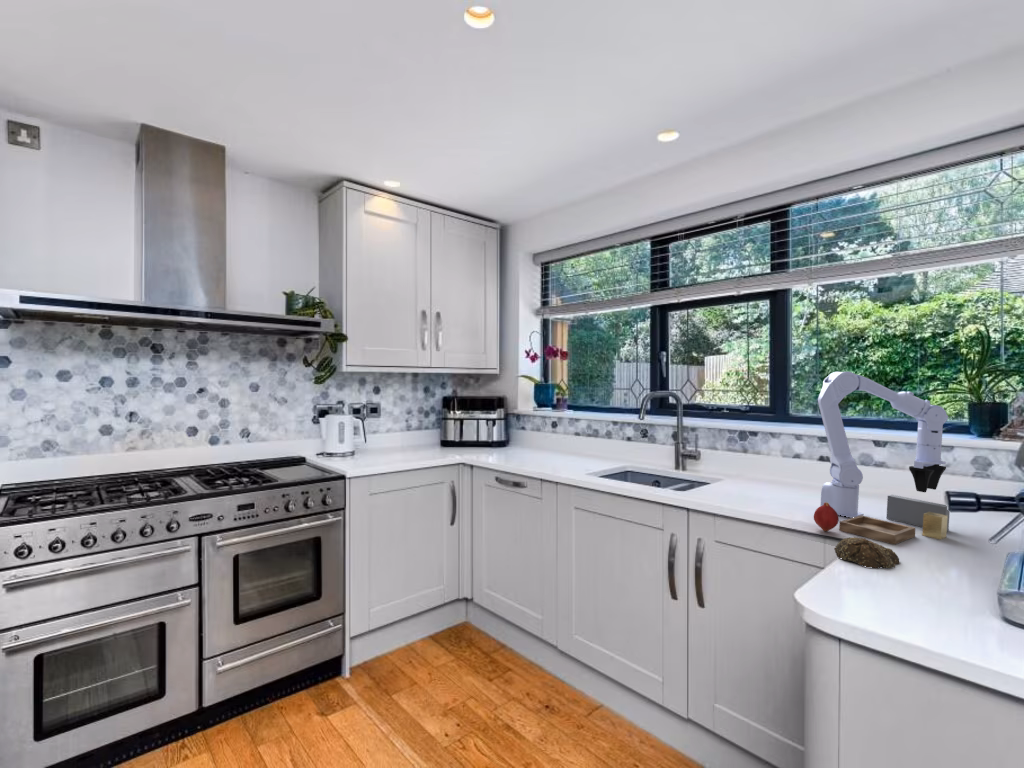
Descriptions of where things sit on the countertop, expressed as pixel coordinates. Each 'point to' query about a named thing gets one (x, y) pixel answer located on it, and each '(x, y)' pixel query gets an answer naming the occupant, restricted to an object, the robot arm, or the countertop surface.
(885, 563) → the bread roll
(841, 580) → the countertop surface
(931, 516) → the brass block
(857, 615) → the countertop surface
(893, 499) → the wall unit
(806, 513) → the countertop surface
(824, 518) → the onion
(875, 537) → the tray
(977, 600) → the countertop surface
